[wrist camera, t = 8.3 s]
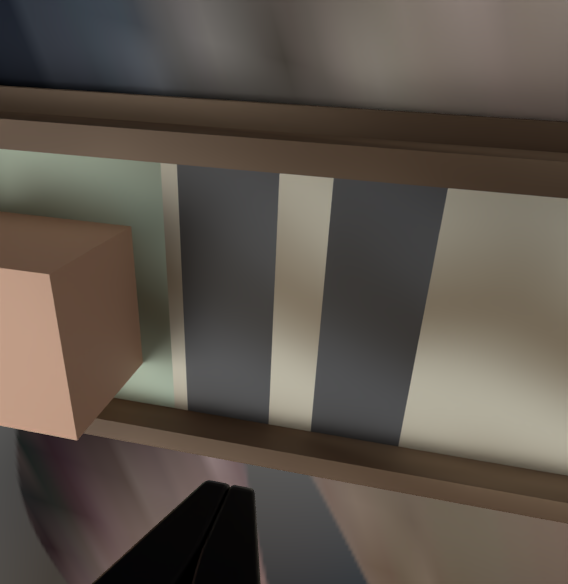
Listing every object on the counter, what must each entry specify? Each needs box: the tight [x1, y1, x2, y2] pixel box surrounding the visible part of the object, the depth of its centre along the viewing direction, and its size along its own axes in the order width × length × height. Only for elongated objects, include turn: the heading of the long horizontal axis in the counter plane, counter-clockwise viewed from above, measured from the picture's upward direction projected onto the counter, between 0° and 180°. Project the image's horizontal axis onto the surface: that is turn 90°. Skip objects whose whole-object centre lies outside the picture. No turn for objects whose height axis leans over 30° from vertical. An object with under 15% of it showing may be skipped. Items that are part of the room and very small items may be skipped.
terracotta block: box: [0, 211, 143, 440], centre depth 14 cm, size 5×5×4 cm
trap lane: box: [0, 85, 568, 524], centre depth 15 cm, size 12×22×2 cm, turn 87°
